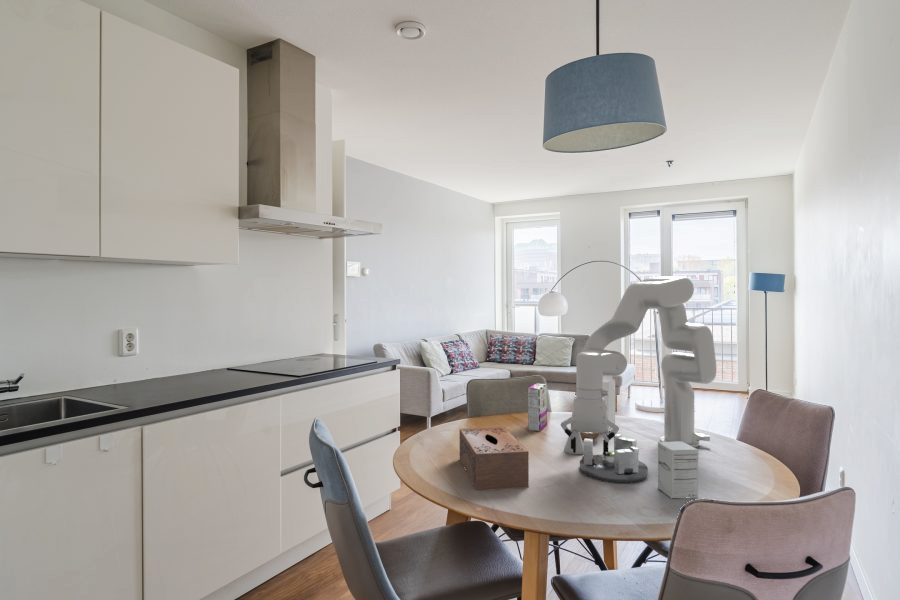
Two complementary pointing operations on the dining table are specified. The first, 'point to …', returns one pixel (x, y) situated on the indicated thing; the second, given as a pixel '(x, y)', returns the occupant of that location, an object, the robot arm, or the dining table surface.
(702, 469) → the dining table surface
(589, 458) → the knob front
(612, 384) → the milk
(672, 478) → the supplement box
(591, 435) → the onion
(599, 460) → the levelling plate
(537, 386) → the candy bar box
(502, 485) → the tissue box cover
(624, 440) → the knob
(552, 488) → the dining table surface
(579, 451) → the flask
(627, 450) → the knob
